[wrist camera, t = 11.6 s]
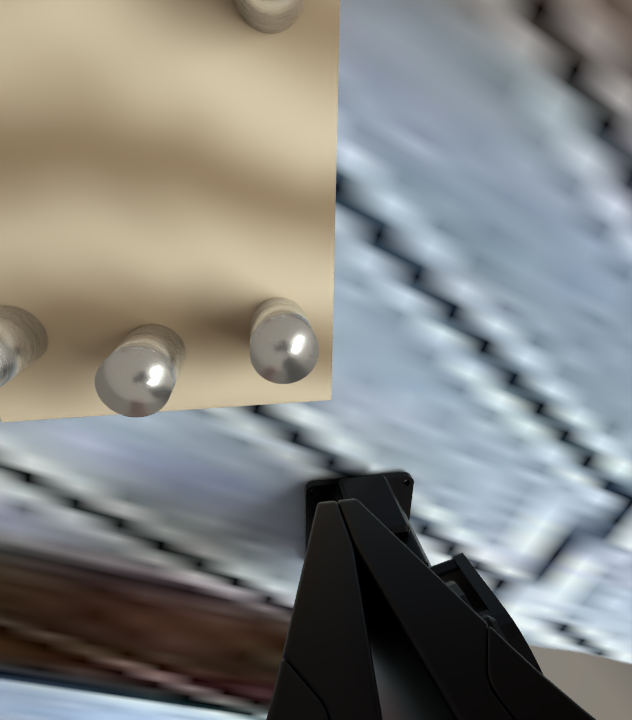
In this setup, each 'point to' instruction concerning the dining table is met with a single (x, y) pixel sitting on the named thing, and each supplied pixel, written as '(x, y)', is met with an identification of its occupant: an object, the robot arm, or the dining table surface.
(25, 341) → the steel spacers
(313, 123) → the board
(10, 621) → the dining table surface
